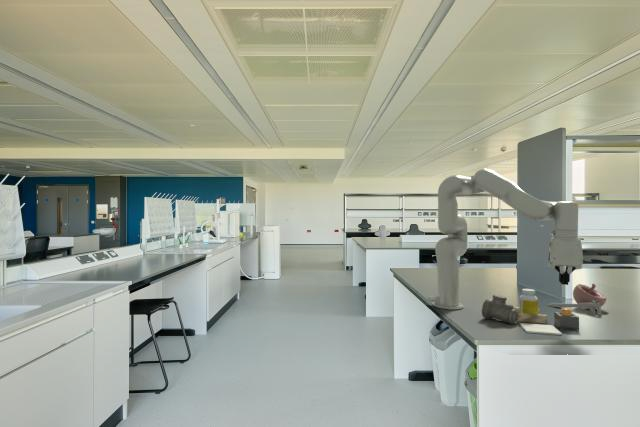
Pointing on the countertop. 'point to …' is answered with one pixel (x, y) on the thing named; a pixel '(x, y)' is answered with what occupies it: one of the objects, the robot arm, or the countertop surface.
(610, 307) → the countertop surface
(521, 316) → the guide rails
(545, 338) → the countertop surface
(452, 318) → the countertop surface
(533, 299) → the pill bottle
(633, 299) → the countertop surface
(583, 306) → the caliper
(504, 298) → the pipe fitting
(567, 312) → the plunger
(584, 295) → the mortar and pestle
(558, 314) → the block
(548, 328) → the pad
